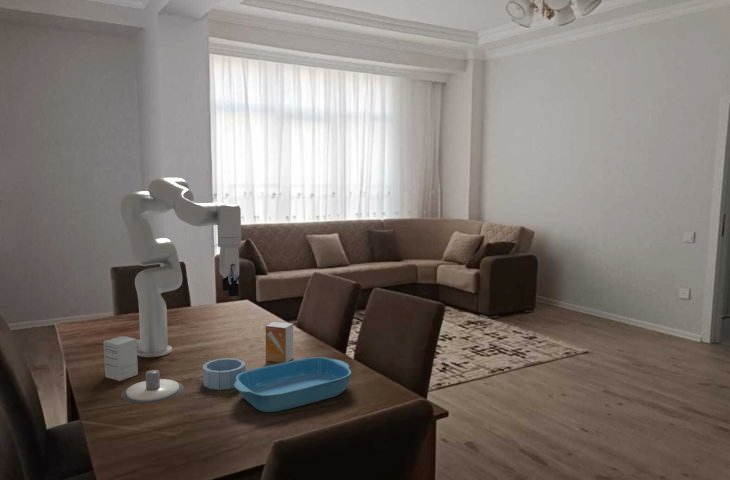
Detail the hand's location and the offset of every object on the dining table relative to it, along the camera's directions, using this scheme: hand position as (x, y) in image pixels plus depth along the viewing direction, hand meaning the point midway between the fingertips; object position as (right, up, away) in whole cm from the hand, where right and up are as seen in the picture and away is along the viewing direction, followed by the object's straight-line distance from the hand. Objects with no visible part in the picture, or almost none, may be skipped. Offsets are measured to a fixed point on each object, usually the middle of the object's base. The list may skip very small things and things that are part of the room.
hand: (230, 293), depth 186 cm
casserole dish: (+23, -30, -15) cm, 41 cm away
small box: (+14, -26, +17) cm, 34 cm away
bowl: (0, -28, -6) cm, 29 cm away
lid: (-20, -29, -15) cm, 38 cm away
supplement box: (-35, -28, -2) cm, 45 cm away
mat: (-20, -29, -15) cm, 38 cm away
